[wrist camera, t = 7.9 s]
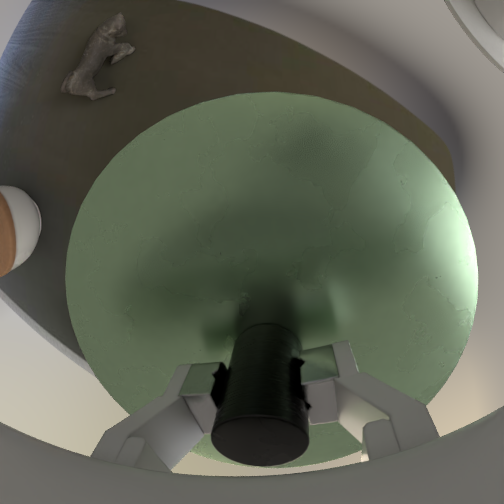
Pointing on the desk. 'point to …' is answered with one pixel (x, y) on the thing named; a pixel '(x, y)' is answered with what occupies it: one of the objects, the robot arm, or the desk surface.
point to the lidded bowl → (17, 227)
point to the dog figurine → (98, 58)
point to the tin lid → (270, 266)
